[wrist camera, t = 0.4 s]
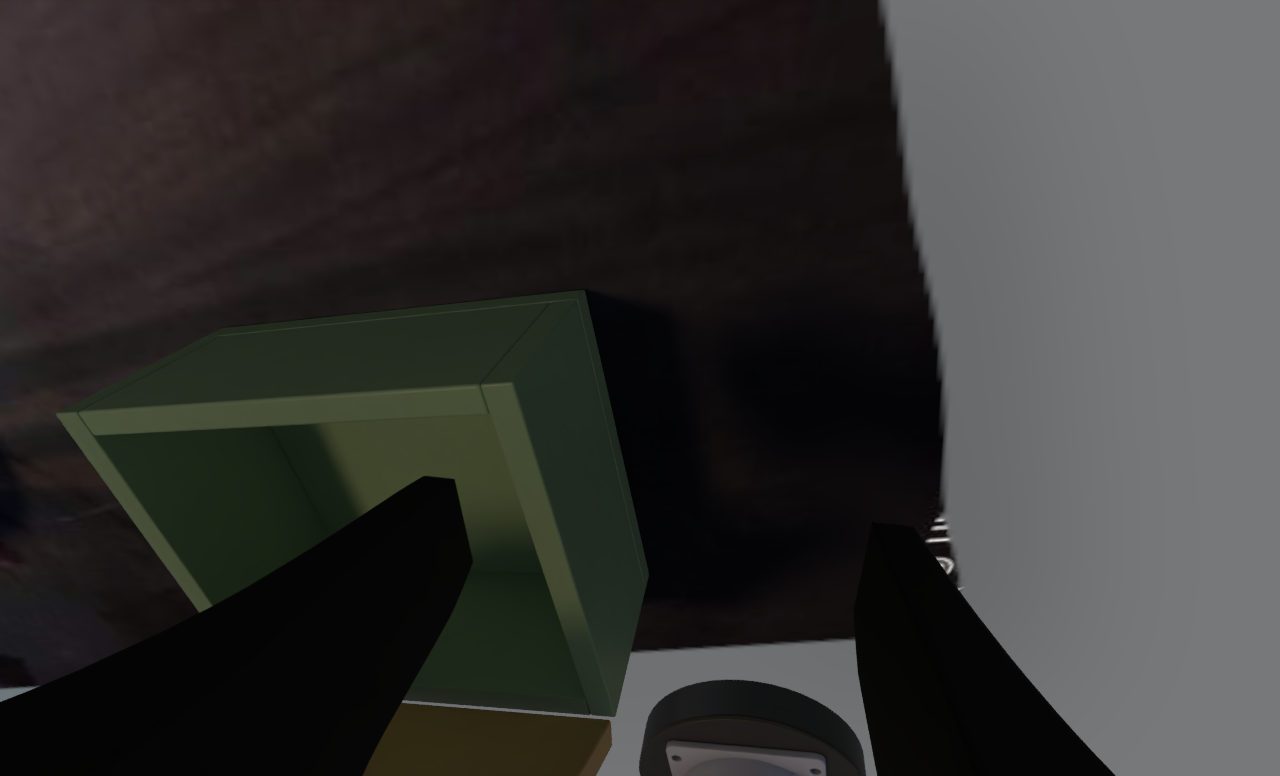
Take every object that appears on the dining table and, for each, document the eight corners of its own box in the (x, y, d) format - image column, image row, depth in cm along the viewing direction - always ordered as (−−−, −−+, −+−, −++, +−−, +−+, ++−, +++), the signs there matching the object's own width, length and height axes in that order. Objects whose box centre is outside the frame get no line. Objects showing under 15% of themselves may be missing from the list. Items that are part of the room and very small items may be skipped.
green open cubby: (221, 327, 21) (54, 413, 16) (585, 289, 18) (512, 382, 13) (350, 568, 27) (253, 688, 22) (649, 574, 23) (615, 718, 18)
